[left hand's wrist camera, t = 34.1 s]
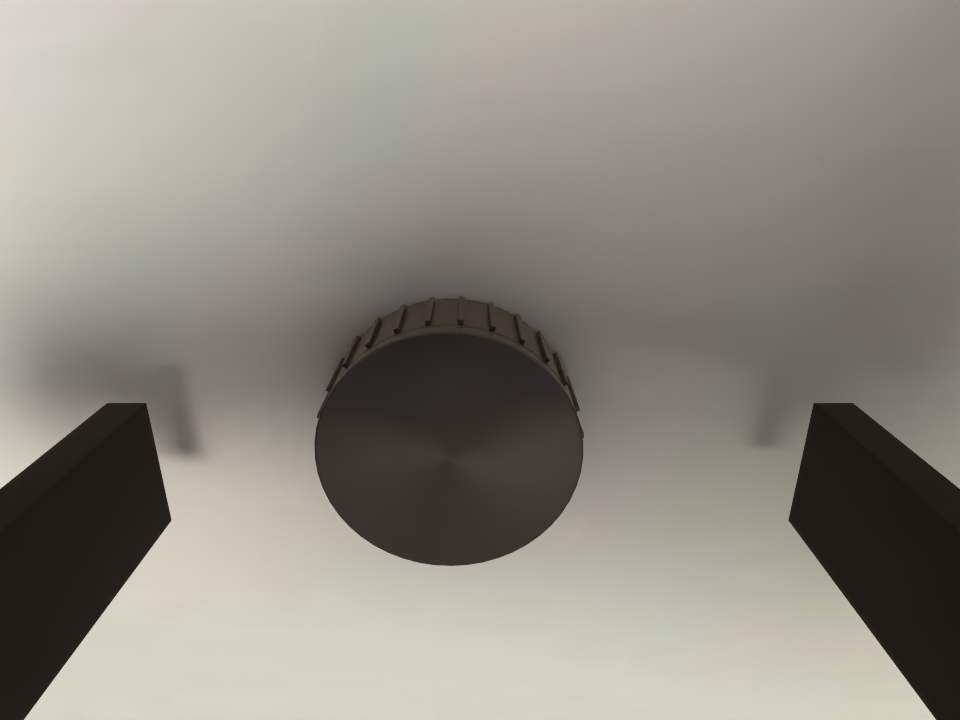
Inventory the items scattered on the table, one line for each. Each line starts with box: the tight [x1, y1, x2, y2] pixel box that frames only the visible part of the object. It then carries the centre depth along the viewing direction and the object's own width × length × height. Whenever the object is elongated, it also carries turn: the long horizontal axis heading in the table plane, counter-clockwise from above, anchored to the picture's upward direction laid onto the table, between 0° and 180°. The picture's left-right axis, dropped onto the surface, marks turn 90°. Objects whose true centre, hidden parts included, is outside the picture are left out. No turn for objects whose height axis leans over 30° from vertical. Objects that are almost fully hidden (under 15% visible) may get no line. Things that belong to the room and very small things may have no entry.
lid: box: [315, 297, 584, 566], centre depth 14 cm, size 6×6×2 cm
